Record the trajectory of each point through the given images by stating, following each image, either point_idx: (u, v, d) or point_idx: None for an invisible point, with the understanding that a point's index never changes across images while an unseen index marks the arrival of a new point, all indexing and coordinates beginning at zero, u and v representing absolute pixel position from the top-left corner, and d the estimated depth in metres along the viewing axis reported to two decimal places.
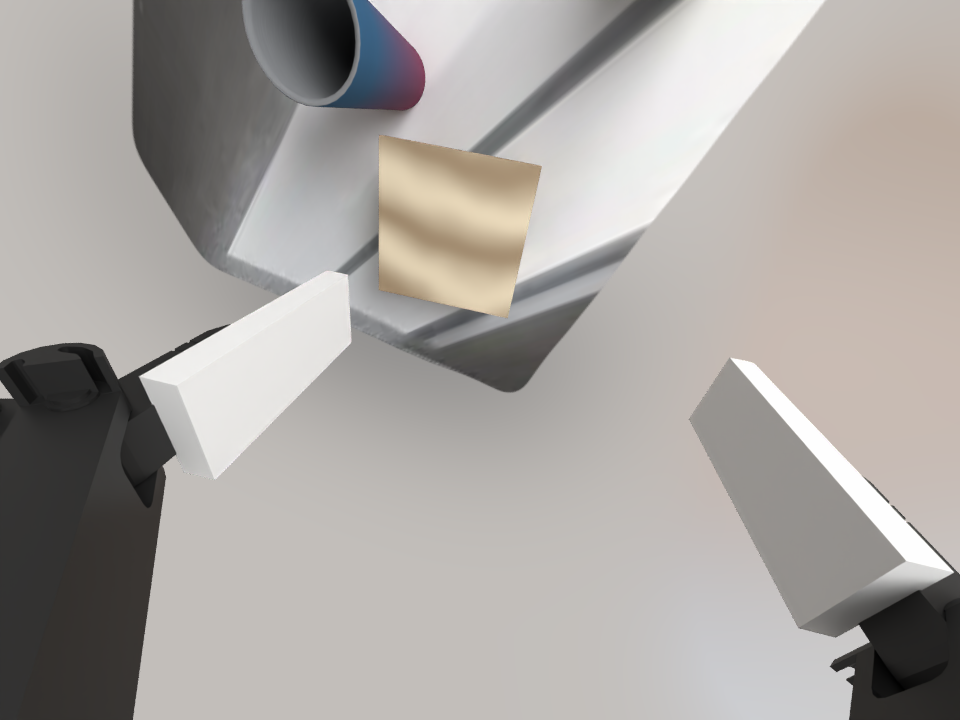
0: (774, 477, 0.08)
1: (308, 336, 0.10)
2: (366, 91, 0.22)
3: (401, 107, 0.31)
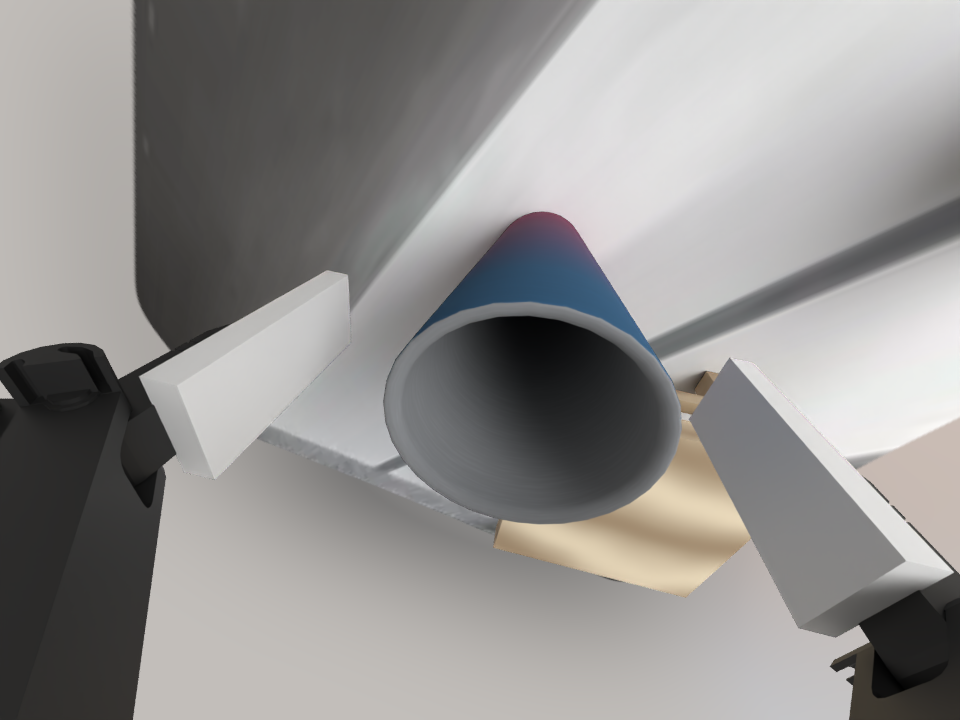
0: (774, 477, 0.08)
1: (308, 336, 0.10)
2: None
3: None
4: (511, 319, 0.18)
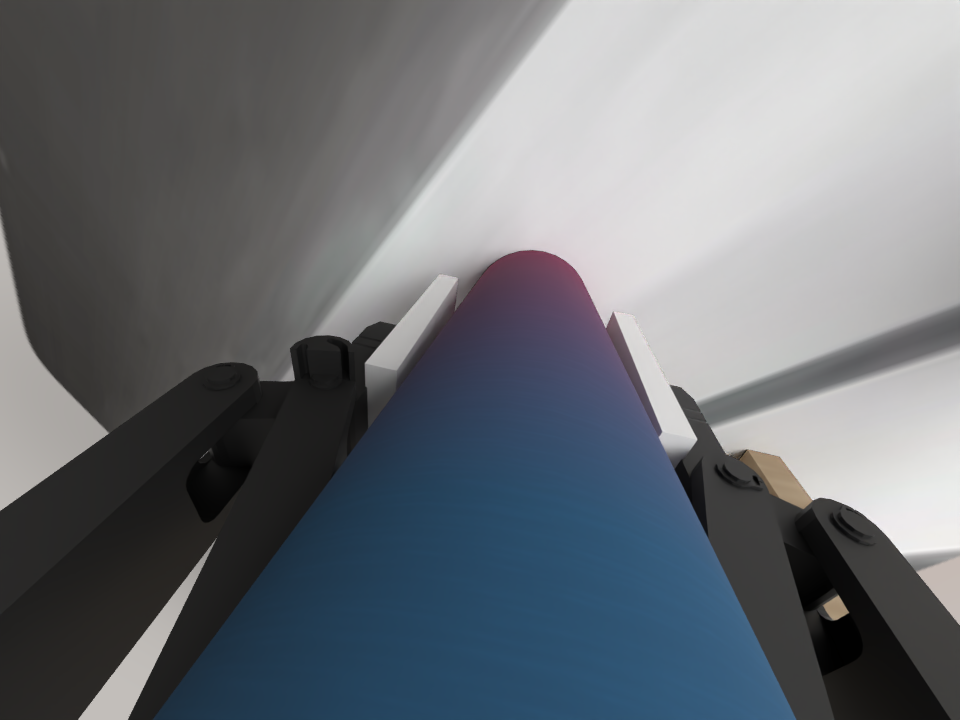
0: None
1: (438, 332, 0.12)
2: None
3: None
4: None
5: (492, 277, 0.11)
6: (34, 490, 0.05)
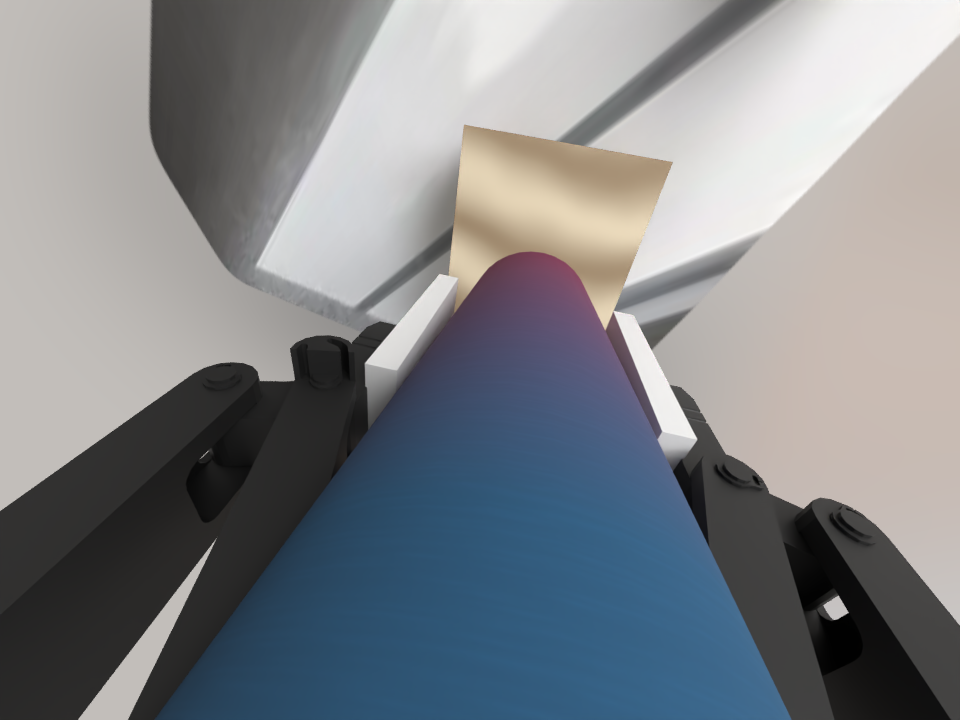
0: None
1: (438, 332, 0.12)
2: None
3: None
4: None
5: (492, 278, 0.11)
6: (34, 491, 0.05)
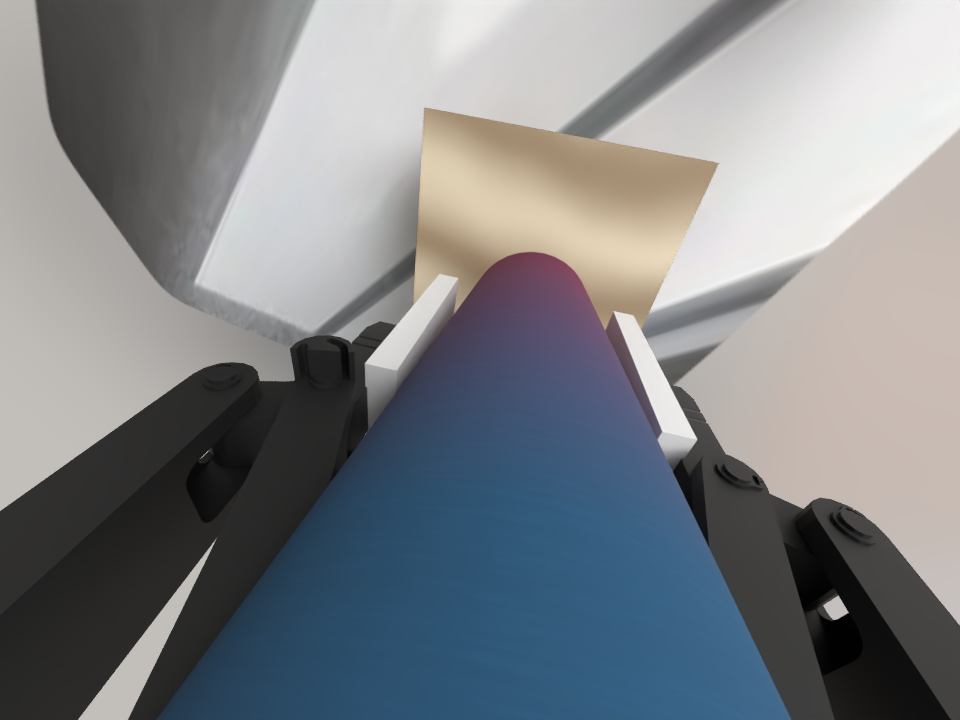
0: None
1: (438, 332, 0.12)
2: None
3: None
4: None
5: (492, 279, 0.11)
6: (35, 490, 0.05)
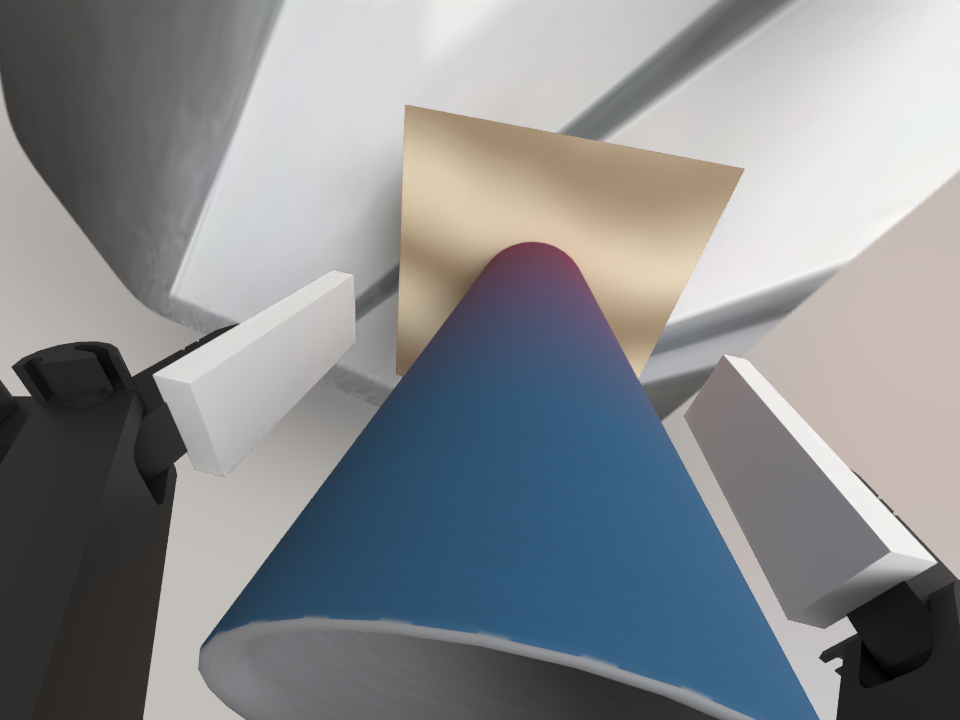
0: (765, 472, 0.09)
1: (315, 335, 0.10)
2: None
3: None
4: None
5: (498, 264, 0.13)
6: None
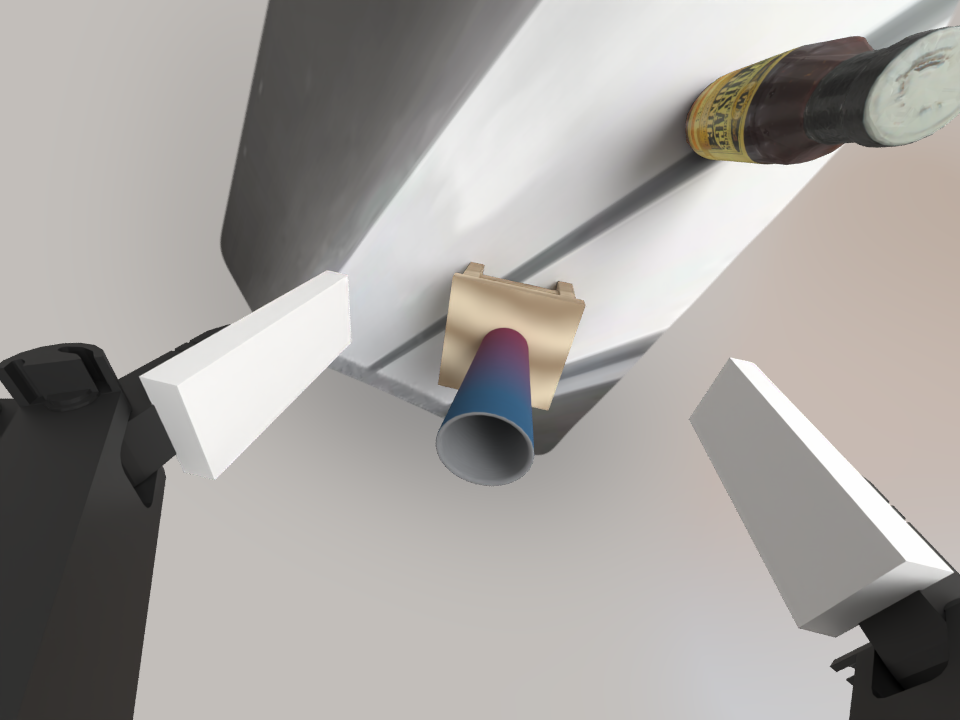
0: (774, 477, 0.08)
1: (308, 336, 0.10)
2: None
3: None
4: None
5: (489, 342, 0.33)
6: None
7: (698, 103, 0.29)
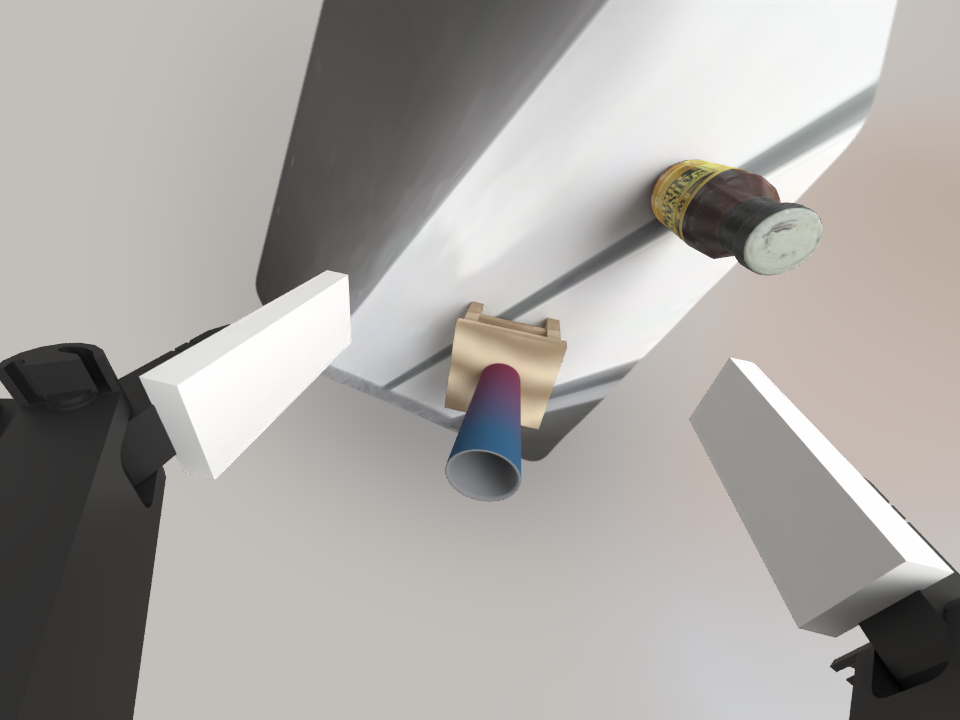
0: (774, 477, 0.08)
1: (308, 336, 0.10)
2: None
3: None
4: None
5: (487, 378, 0.39)
6: None
7: (658, 185, 0.34)
